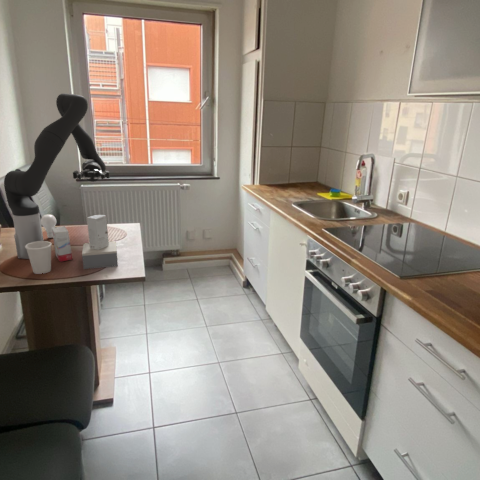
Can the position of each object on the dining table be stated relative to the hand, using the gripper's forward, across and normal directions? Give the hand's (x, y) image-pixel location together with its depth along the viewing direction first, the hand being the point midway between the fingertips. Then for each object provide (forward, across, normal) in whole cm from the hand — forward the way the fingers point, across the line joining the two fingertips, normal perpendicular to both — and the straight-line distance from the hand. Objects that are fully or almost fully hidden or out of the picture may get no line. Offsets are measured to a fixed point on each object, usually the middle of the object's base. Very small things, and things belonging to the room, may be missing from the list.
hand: (91, 176), depth 154 cm
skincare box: (+19, +2, +24) cm, 31 cm away
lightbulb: (-17, -20, +30) cm, 40 cm away
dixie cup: (+23, -18, +31) cm, 42 cm away
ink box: (+11, -12, +30) cm, 34 cm away
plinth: (+19, +2, +30) cm, 36 cm away
